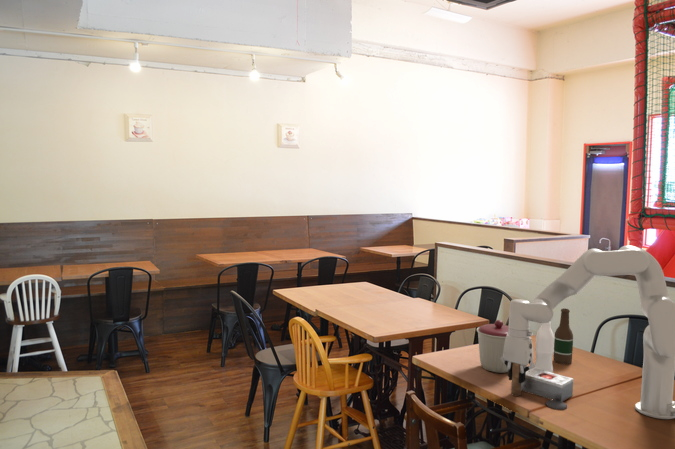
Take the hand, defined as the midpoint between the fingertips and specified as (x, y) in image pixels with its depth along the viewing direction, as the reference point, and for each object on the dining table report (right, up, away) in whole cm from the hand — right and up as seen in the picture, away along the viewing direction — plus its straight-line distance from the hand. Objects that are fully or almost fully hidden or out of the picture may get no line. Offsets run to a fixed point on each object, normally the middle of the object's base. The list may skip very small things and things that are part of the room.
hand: (516, 380), depth 203 cm
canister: (+1, -3, +28) cm, 28 cm away
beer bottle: (+33, -3, +39) cm, 51 cm away
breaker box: (+12, -5, +2) cm, 13 cm away
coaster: (+11, -6, -10) cm, 16 cm away
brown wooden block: (0, -5, 0) cm, 5 cm away
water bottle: (+17, -4, +19) cm, 26 cm away
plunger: (+12, -2, +2) cm, 12 cm away
